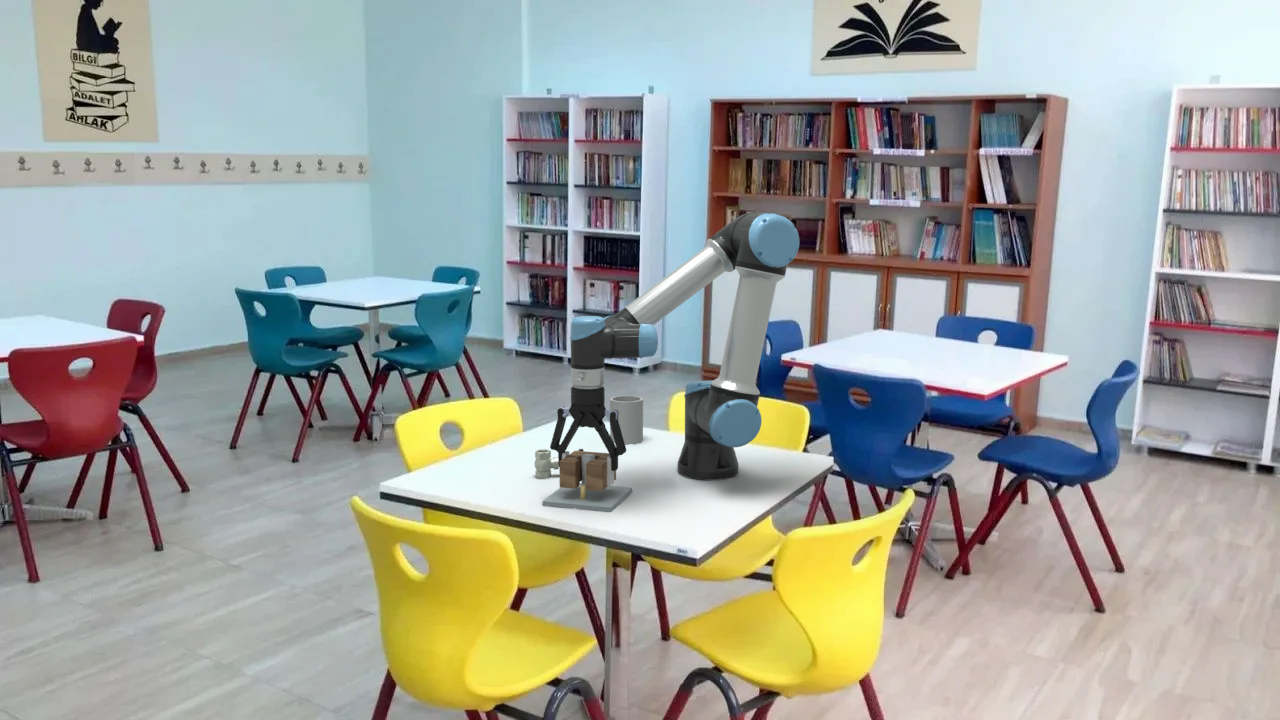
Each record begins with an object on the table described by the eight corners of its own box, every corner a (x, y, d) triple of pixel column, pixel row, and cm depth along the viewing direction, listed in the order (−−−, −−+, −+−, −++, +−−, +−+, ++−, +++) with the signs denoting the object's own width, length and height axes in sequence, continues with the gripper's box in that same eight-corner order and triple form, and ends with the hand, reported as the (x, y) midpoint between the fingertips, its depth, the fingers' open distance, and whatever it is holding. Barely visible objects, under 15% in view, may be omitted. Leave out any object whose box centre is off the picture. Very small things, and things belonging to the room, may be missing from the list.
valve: (536, 481, 249) (585, 478, 251) (536, 454, 247) (585, 452, 250) (533, 474, 255) (581, 471, 257) (532, 448, 254) (580, 445, 256)
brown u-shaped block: (575, 475, 240) (574, 450, 239) (616, 479, 237) (616, 453, 236) (559, 487, 231) (559, 461, 230) (602, 491, 228) (602, 464, 227)
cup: (607, 444, 284) (607, 401, 283) (613, 436, 293) (613, 395, 291) (640, 445, 283) (640, 402, 281) (645, 437, 292) (645, 396, 290)
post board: (632, 491, 240) (632, 449, 238) (610, 512, 225) (610, 467, 223) (567, 485, 244) (567, 444, 243) (542, 505, 229) (541, 461, 227)
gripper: (534, 385, 230) (535, 482, 233) (631, 391, 223) (630, 491, 227) (546, 380, 237) (547, 473, 240) (641, 385, 230) (640, 482, 234)
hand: (588, 482), depth 234 cm, fingers closed on brown u-shaped block, 10 cm apart
